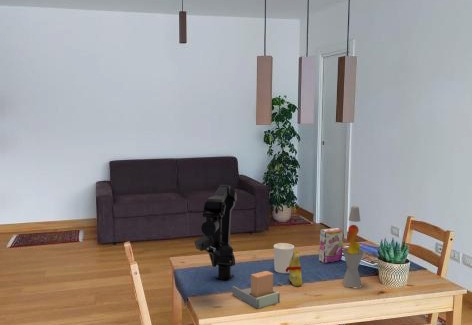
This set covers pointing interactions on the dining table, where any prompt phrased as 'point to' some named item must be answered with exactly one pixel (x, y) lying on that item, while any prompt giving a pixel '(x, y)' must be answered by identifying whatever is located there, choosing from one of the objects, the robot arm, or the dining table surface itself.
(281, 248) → the white tapered cylinder
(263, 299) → the gray open tray
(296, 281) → the chocolate bunny
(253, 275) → the terracotta block
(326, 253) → the candy bar box
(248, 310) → the dining table surface
